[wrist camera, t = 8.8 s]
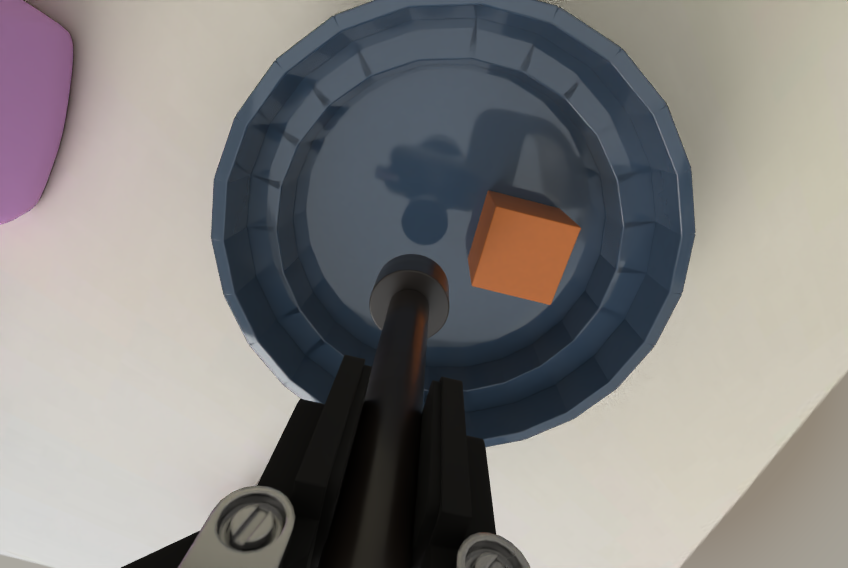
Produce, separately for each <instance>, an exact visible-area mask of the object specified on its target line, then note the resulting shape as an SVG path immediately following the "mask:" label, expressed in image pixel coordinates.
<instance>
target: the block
mask: <svg viewBox="0 0 848 568" xmlns="http://www.w3.org/2000/svg"><path fill="white" fill-rule="evenodd" d="M580 230H581V227H580V226H579V225H577V224H576V223H575V222H574V221H573V220H572V219H571V218H570V217H569V216H567V215H566V214H565V213H564V212H563V211H562V210H561V209H560V208H556V207H552V206H548V205H544V204H541V203H537V202H533V201H529V200H525V199H521V198H517V197H513V196H509V195H505V194H501V193H497V192H493V191H488V192H487V195H486V199H485V202H484V206H483V209H482V212H481V216H480V219H479V222H478V226H477V229H476V232H475V236H474V239H473V243H472V246H471V249H470V253H469V256H468V264H469V271H470V278H471V285H472V286H474V287H478V288H482V289H486V290H490V291H494V292H498V293H503V294H507V295H511V296H515V297H519V298H523V299H527V300H531V301H536V302H540V303H544V304H548V305H551V303H552V301H553V298H554V296H555V293H556V291H557V288H558V285H559V283H560V280H561V278H562V275H563V273H564V270H565V268H566V265H567V263H568V260H569V258H570V255H571V253H572V250H573V248H574V245H575V242H576V240H577V237H578V235H579V232H580Z"/></svg>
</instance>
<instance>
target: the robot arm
mask: <svg viewBox="0 0 848 568" xmlns="http://www.w3.org/2000/svg"><path fill="white" fill-rule="evenodd" d="M371 370H372V366H368V365H365V359H363V358H358V357H354V356H349V355H344V357H343V360H342V362H341V365H340V367H339V370H338V372H337V375H336V377H335V380H334V382H333V385H332V388H331V390H330V393H329V395H328V398H327V400H326V403H325V404H322V403H318V402H313V401H308V400H304V399H300V400H299V402H298V403H297V405H296V407H295V409H294V411H293V413H292V415H291V417H290V419H289V421H288V424H287V426H286V428H285V430H284V432H283V434H282V436H281V438H280V440H279V442H278V444H277V446H276V448H275V450H274V452H273V454H272V456H271V458H270V460H269V462H268V464H267V466H266V468H265V470H264V473H263V475H262V477H261V479H260V481H259V483H258V485H257V486H251V487H244V488H242V489H239V490H237V491H234V492H232V493H230V494H229V495H228V496H226V497H225V498H224V499H222V500H221V501H220V502H219V503H218V505H217V506H216V507H215V508H214V509H213V511H212V512H211V514H210V516H209V517H208V519H207V520H206V522H205V524H204V525H203V527H202V529H201V530H200V531H198V532H196V533H194V534H192V535H190V536H188V537H185V538H183V539H181V540H179V541H177V542H175V543H173V544H170V545H168V546H166V547H164V548H162V549H160V550H158V551H156V552H153V553H151V554H149V555H147V556H145V557H143V558H141V559H138V560H136V561H134V562H132V563H130V564H128V565H126V566H123V567H121V568H318V565H319V561H320V557H321V554H322V550H323V547H324V545H325V543H326V541H327V540H328V536H329V532H330V529H331V525H332V521H333V517H334V514H335V510H336V506H337V502H338V499H339V495H340V491H341V487H342V484H343V480H344V476H345V472H346V468H347V465H348V461H349V457H350V453H351V450H352V446H353V442H354V438H355V435H356V431H357V427H358V423H359V420H360V416H361V412H362V408H363V405H364V401H365V396H366V392H367V387H368V383H369V379H370V374H371ZM412 568H530V566H529V563H528V562H527V560H526V559H525V557H524V556H523V554H522V553H521V551H520V550H518V549H517V548H516V547H515V546H514V545H513V544H512V543H511V542H509V541H508V540H506V539H505V538H503V537H501V536H499V535H496V530H495V522H494V513H493V505H492V497H491V489H490V481H489V473H488V465H487V457H486V448H485V443H484V440H483V439H481V438H477V437H472V436H468V435H466V422H465V408H464V394H463V382H462V381H460V380H455V379H451V378H447V377H441V378H440V380H439V381H434V380H432V382H431V385H430V388H429V392H428V395H427V398H426V402H425V405H424V408H423V412H422V416H421V431H420V445H419V459H418V474H417V488H416V503H415V517H414V531H413V546H412Z"/></svg>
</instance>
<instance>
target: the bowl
mask: <svg viewBox="0 0 848 568" xmlns="http://www.w3.org/2000/svg"><path fill="white" fill-rule="evenodd" d="M488 191H493V192H497V193H501V194H505V195H509V196H513V197H517V198H521V199H525V200H529V201H533V202H537V203H541V204H544V205H548V206H552V207H556V208H560V209H561V210H562V211H563V212H564V213H565V214H566V215H567V216H569V217H570V218H571V219H572V220H573V221H574V222H575V223H576V224H577V225H579V226H580V227H581V230H580V232H579V235H578V237H577V240H576V242H575V245H574V248H573V250H572V253H571V255H570V258H569V260H568V263H567V265H566V268H565V270H564V273H563V275H562V278H561V280H560V283H559V285H558V288H557V291H556V293H555V296H554V298H553V301H552V303H551V305H548V304H544V303H540V302H536V301H531V300H527V299H523V298H519V297H515V296H511V295H507V294H503V293H498V292H494V291H490V290H486V289H482V288H478V287H474V286H472V285H471V278H470V271H469V264H468V256H469V253H470V249H471V246H472V243H473V239H474V236H475V232H476V229H477V226H478V222H479V219H480V216H481V212H482V209H483V206H484V202H485V199H486V195H487V192H488ZM694 233H695V218H694V203H693V187H692V171H691V166H690V164H689V161H688V158H687V156H686V153H685V150H684V148H683V145H682V142H681V140H680V137H679V134H678V132H677V129H676V127H675V124H674V121H673V119H672V116H671V113H670V111H669V108H668V106H667V104H666V102H665V101H664V100H663V99H662V97H661V96H660V95H659V93H658V92H657V91H656V90H655V88H654V87H653V86H652V85H651V83H650V82H649V81H648V80H647V78H646V77H645V76H644V75H643V73H642V72H641V71H640V70H639V68H638V67H637V66H636V65H635V63H634V62H633V61H632V60H631V58H630V57H629V56H628V55H627V53H626V52H625V51H624V49H621V47H620V46H618V45H617V44H615V43H614V42H612V41H611V40H609V39H608V38H606V37H605V36H603V35H602V34H600V33H599V32H597V31H596V30H594V29H593V28H591V27H590V26H588V25H587V24H585V23H584V22H582V21H581V20H579V19H578V18H576V17H575V16H573V15H572V14H570V13H568V12H567V11H565V10H564V9H562V8H561V7H558V6H557V5H553V4H550V3H546V2H542V1H539V0H373V1H370V2H368V3H365V4H362V5H360V6H357V7H354V8H351V9H349V10H346V11H343V12H340V13H338V14H335V15H334V16H332V17H330V18H329V19H328V20H326V21H325V22H324V23H322V24H321V25H320V26H318V27H317V28H316V29H315V30H313V31H312V32H311V33H309V34H308V35H307V36H305V37H304V38H303V39H302V40H300V41H299V42H298V43H296V44H295V45H294V46H292V47H291V48H290V49H289V50H287V51H286V52H285V53H283V54H282V55H281V56H279V57H278V58H277V59H276V61H274V62H273V64H272V65H271V66H270V68H269V69H268V71H267V72H266V74H265V75H264V76H263V78H262V79H261V81H260V82H259V83H258V85H257V86H256V88H255V89H254V90H253V92H252V93H251V95H250V96H249V97H248V99H247V100H246V102H245V103H244V104H243V106H242V107H241V109H240V110H239V112H238V113H237V114H236V117H235V118H234V121H233V124H232V127H231V130H230V133H229V136H228V139H227V142H226V145H225V148H224V151H223V153H222V156H221V159H220V162H219V165H218V168H217V171H216V174H215V178H214V187H213V208H212V229H211V239H212V245H213V249H214V254H215V258H216V263H217V267H218V272H219V276H220V281H221V285H222V290H223V294H224V297H225V299H226V301H227V303H228V305H229V307H230V309H231V311H232V313H233V315H234V317H235V319H236V321H237V323H238V325H239V326H240V328H241V330H242V332H243V334H244V336H245V338H246V340H247V342H248V344H249V345H250V347H251V348H252V349H253V350H254V351H255V353H256V354H257V355H258V356H259V357H260V359H261V360H262V361H263V362H264V363H265V364H266V366H267V367H268V368H269V369H270V370H271V371H272V373H273V374H274V375H275V376H276V377H277V378H278V380H279V381H280V382H281V383H282V384H283V385H284V386H285V387H286V388H287V389H289V390H290V391H291V392H293V393H294V394H295V395H297V396H298V397H299V398H301V399H304V400H308V401H313V402H318V403H322V404H325V403H326V400H327V398H328V395H329V393H330V390H331V388H332V385H333V382H334V380H335V377H336V375H337V372H338V370H339V367H340V365H341V362H342V360H343V357H344V355H349V356H354V357H358V358H363V359H365V365H368V366H373V362H374V358H375V355H376V351H377V347H378V343H379V340H380V336H381V332H382V331H381V330H380V329H379V328H378V326H377V325H376V324H375V322H374V321H373V318H372V316H371V313H370V307H369V301H370V296H371V293H372V290H373V287H374V285H375V282H376V280H377V277H378V275H379V272H380V271H381V269H382V268H383V266H384V265H385V264H386V263H387V262H389V261H390V260H392V259H393V258H395V257H398V256H401V255H405V254H418V255H422V256H425V257H428V258H430V259H432V260H433V261H435V262H436V263H437V264H438V265H439V266H440V267H441V268H442V269H443V271H444V273H445V274H446V277H447V279H448V284H449V314H448V318H447V320H446V322H445V324H444V325H443V327H442V328H441V329H440V330H439V331H438V332H437V333H436V334H434V335H433V336H431V337H430V338H427V349H426V364H425V379H424V394H423V408H424V405H425V402H426V398H427V395H428V392H429V388H430V385H431V382H432V380H434V381H439V380H440V378H441V377H447V378H451V379H455V380H460V381H462V382H463V394H464V408H465V422H466V435H468V436H472V437H477V438H481V439H483V440H484V443H485V447H489V446H495V445H500V444H505V443H510V442H516V441H521V440H524V439H527V438H530V437H532V436H534V435H537V434H539V433H542V432H544V431H546V430H549V429H551V428H554V427H556V426H558V425H561V424H563V423H565V422H568V421H570V420H572V419H575V418H576V417H577V416H579V415H580V414H582V413H583V412H584V411H586V410H587V409H589V408H590V407H592V406H593V405H594V404H596V403H597V402H599V401H600V400H601V399H603V398H604V397H606V396H607V395H609V394H610V393H611V392H613V391H614V390H616V389H617V387H619V386H620V385H621V383H622V382H623V381H624V380H625V379H626V378H627V377H628V376H629V374H630V373H631V372H632V371H633V370H634V369H635V368H636V367H637V365H638V364H639V363H640V362H641V361H642V360H643V359H644V358H645V356H646V355H647V354H648V353H649V352H650V351H651V350H652V349H653V347H654V345H656V343H657V341H658V339H659V337H660V335H661V333H662V331H663V329H664V328H665V326H666V324H667V322H668V320H669V318H670V316H671V314H672V312H673V310H674V308H675V306H676V305H677V303H678V301H679V299H680V297H681V295H682V294H681V293H682V292H683V288H684V283H685V279H686V274H687V270H688V265H689V261H690V256H691V252H692V247H693V243H694V238H695V234H694ZM422 412H423V409H422Z"/></svg>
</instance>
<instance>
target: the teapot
mask: <svg viewBox="0 0 848 568" xmlns="http://www.w3.org/2000/svg"><path fill="white" fill-rule="evenodd" d="M72 66H73V43H72V39H71V36H70V34H69V32H68V31H67V30H66V29H64V28H63V27H62V26H61V25H60V24H58V23H57V22H55V21H54V20H52V19H51V18H49V17H48V16H46V15H45V14H44V13H42V12H41V11H39V10H37V9H36V8H34V7H33V6H31V5H29V4H28V3H26V2H25V1H23V0H0V224H4V223H7V222H10V221H12V220H14V219H16V218H18V217H19V216H21V215H23V214H25V213H26V212H28V211H30V210H31V209H32V208H33V207H34V206H35V205H36V204H37V202H38V201H39V199H40V197H41V195H42V193H43V190H44V188H45V186H46V183H47V180H48V178H49V175H50V172H51V169H52V166H53V164H54V161H55V158H56V155H57V152H58V149H59V145H60V141H61V138H62V133H63V129H64V124H65V118H66V112H67V106H68V99H69V92H70V84H71V77H72Z"/></svg>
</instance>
